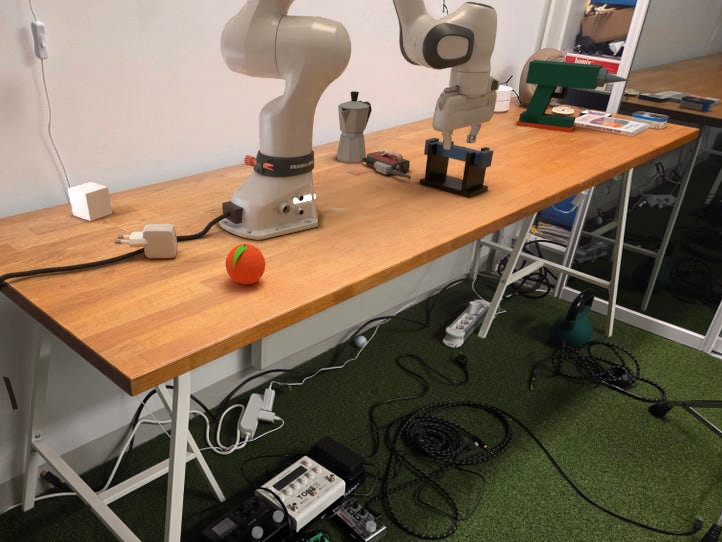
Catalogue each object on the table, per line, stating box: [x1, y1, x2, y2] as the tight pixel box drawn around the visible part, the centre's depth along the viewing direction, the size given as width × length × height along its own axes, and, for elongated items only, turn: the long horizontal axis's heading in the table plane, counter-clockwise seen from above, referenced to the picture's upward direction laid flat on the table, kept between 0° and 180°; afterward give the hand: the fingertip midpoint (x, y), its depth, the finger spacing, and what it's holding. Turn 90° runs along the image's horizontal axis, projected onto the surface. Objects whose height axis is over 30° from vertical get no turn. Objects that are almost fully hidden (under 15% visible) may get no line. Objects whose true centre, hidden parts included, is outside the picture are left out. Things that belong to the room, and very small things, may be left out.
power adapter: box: [114, 223, 178, 259], centre depth 115 cm, size 11×5×6 cm, turn 93°
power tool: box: [515, 59, 632, 133], centre depth 202 cm, size 32×7×20 cm, turn 58°
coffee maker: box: [336, 90, 373, 164], centre depth 170 cm, size 15×9×18 cm, turn 143°
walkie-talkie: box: [362, 150, 412, 180], centre depth 163 cm, size 9×4×20 cm
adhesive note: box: [67, 181, 113, 222], centre depth 134 cm, size 6×6×6 cm
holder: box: [418, 139, 490, 199], centre depth 151 cm, size 8×15×10 cm, turn 44°
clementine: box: [225, 243, 266, 285], centre depth 105 cm, size 8×7×7 cm
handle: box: [423, 137, 494, 169], centre depth 149 cm, size 4×17×4 cm, turn 44°
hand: (459, 145), depth 147 cm, fingers open, 8 cm apart
